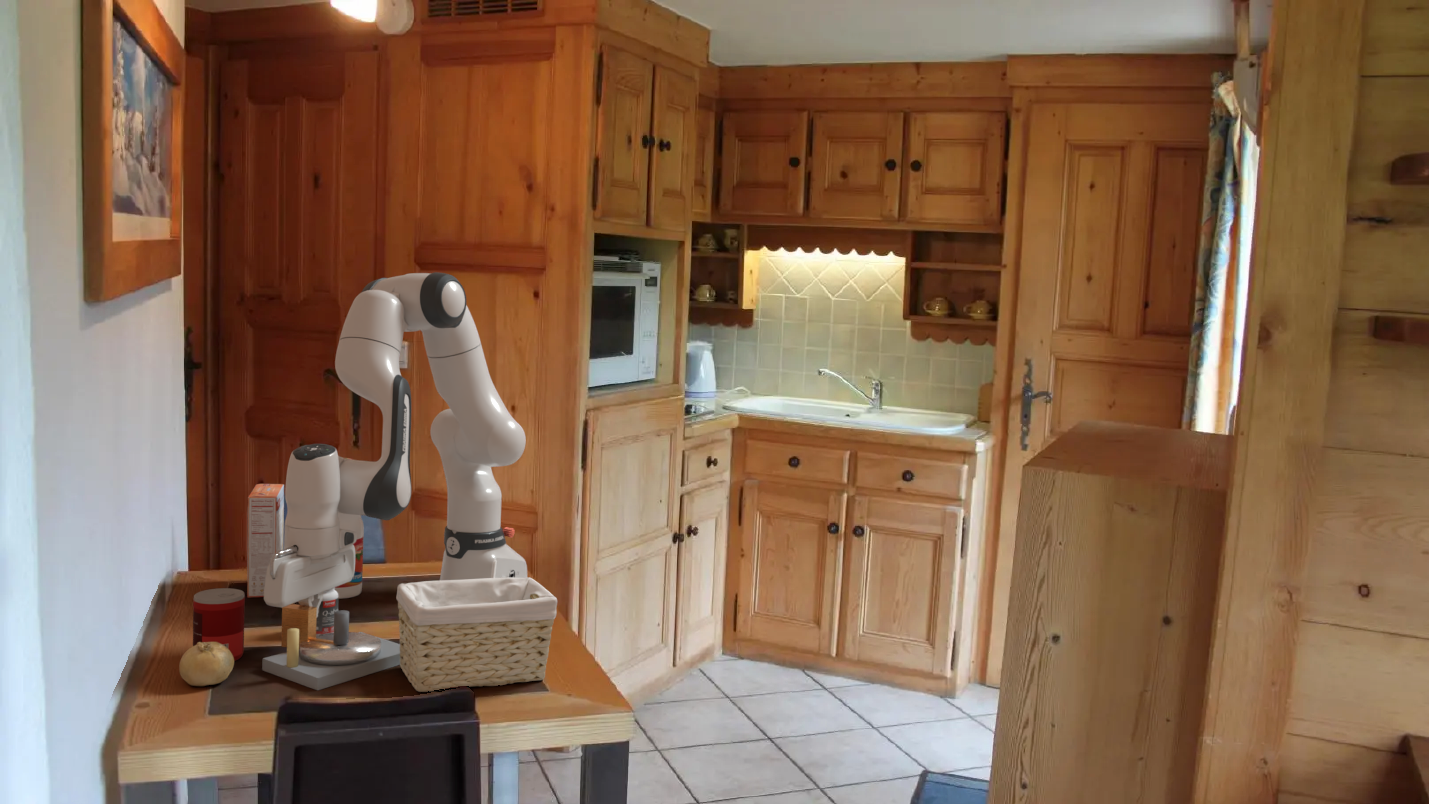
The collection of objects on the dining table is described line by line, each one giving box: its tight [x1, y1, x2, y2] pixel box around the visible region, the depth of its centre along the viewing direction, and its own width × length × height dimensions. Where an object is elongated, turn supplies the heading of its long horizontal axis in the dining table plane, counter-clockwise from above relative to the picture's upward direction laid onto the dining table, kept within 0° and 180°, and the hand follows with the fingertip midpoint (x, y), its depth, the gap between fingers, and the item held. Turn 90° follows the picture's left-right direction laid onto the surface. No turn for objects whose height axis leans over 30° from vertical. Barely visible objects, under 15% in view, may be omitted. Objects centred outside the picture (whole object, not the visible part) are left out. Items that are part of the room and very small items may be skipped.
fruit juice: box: [335, 457, 365, 600], centre depth 231 cm, size 9×9×28 cm
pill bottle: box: [316, 587, 339, 635], centre depth 206 cm, size 6×6×10 cm
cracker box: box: [246, 483, 285, 599], centre depth 232 cm, size 14×6×21 cm, turn 15°
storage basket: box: [395, 576, 558, 693], centre depth 188 cm, size 24×16×15 cm
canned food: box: [192, 587, 246, 662], centre depth 189 cm, size 8×8×11 cm
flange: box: [280, 603, 381, 665], centre depth 190 cm, size 13×17×7 cm
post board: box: [261, 609, 400, 691], centre depth 189 cm, size 20×14×9 cm
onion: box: [178, 642, 235, 687], centre depth 178 cm, size 8×8×7 cm
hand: (310, 619), depth 194 cm, fingers closed
